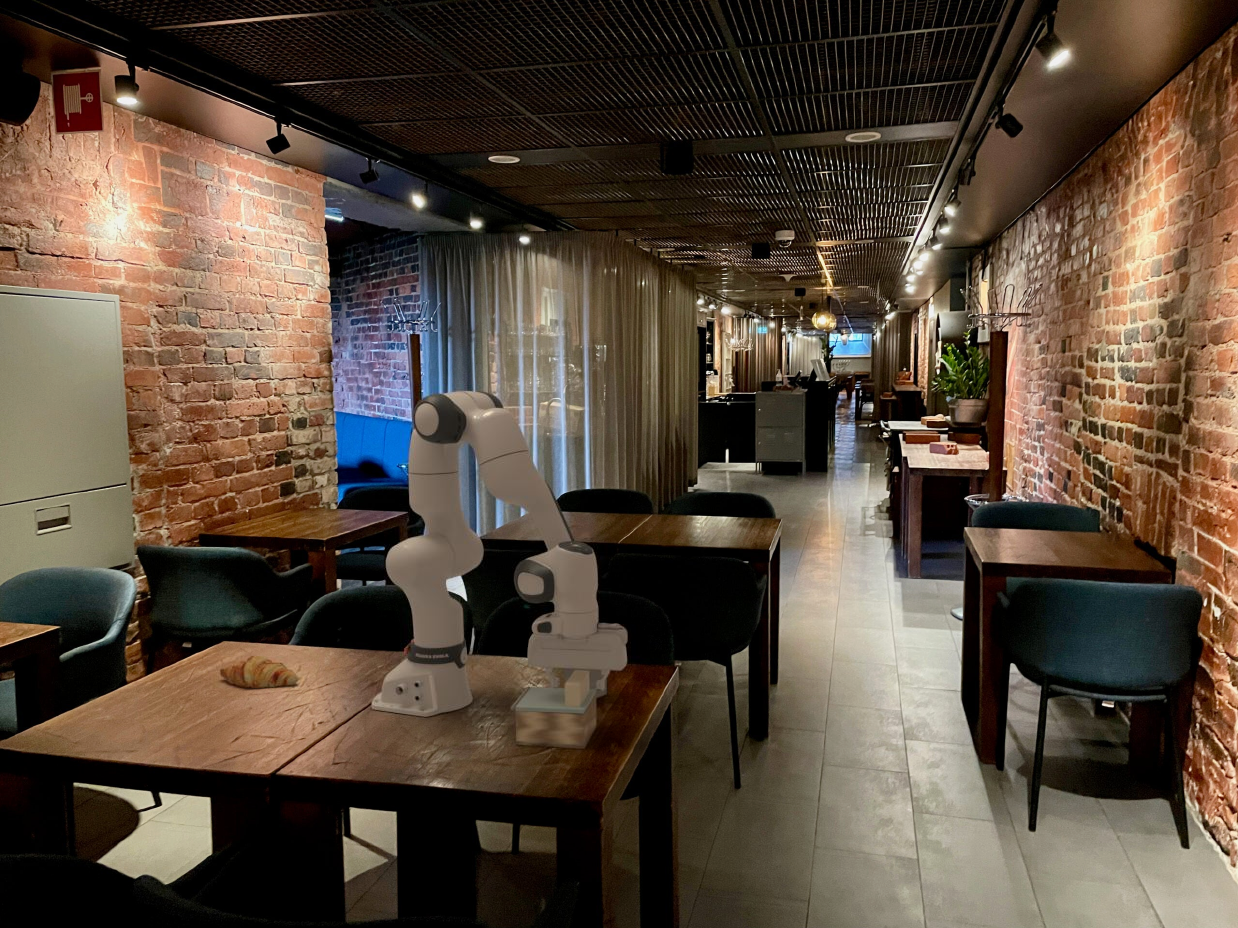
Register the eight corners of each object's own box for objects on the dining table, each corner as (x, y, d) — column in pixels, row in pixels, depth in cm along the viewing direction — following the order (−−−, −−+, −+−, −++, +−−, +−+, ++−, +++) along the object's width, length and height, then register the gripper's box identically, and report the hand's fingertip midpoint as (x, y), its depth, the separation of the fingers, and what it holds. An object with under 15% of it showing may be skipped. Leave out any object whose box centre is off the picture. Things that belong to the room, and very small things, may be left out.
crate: (516, 744, 184) (515, 710, 184) (532, 722, 196) (531, 690, 195) (584, 748, 182) (583, 714, 181) (596, 726, 194) (596, 693, 193)
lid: (510, 710, 184) (510, 706, 184) (526, 690, 196) (526, 686, 196) (583, 713, 181) (583, 709, 181) (596, 692, 193) (595, 688, 193)
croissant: (305, 695, 225) (312, 663, 228) (284, 689, 216) (292, 655, 219) (227, 689, 229) (236, 657, 232) (204, 682, 220) (213, 649, 223)
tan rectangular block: (565, 706, 183) (564, 684, 183) (575, 690, 192) (574, 670, 192) (580, 706, 183) (579, 684, 182) (589, 691, 191) (588, 670, 191)
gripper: (629, 619, 187) (630, 685, 188) (532, 616, 191) (534, 681, 192) (624, 628, 181) (625, 696, 182) (524, 624, 185) (525, 691, 186)
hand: (577, 688), depth 187 cm, fingers open, 8 cm apart
